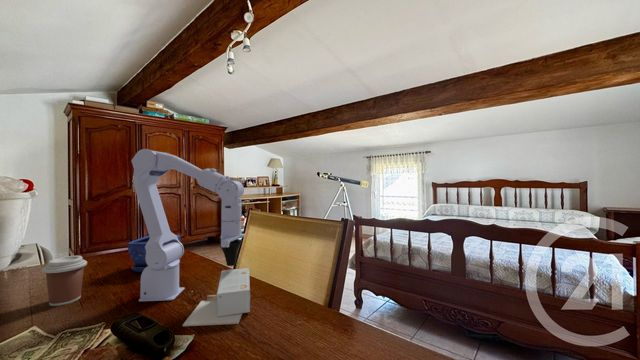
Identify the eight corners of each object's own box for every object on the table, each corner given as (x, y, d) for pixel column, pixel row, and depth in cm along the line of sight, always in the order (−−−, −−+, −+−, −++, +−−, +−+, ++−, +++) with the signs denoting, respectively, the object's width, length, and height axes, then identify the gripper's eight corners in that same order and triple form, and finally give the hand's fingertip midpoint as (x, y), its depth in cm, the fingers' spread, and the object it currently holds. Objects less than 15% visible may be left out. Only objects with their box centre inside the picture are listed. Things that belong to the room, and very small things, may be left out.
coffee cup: (34, 304, 70) (35, 261, 70) (76, 291, 79) (76, 253, 79) (52, 311, 67) (52, 266, 67) (93, 296, 75) (94, 256, 75)
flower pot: (161, 274, 93) (161, 242, 93) (125, 274, 93) (126, 242, 93) (181, 263, 106) (181, 234, 106) (150, 262, 106) (150, 234, 106)
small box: (221, 290, 76) (216, 317, 63) (221, 270, 75) (216, 293, 63) (249, 286, 78) (250, 312, 65) (249, 267, 77) (249, 289, 65)
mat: (182, 326, 60) (182, 324, 60) (201, 302, 72) (201, 300, 72) (238, 323, 61) (238, 322, 61) (247, 300, 73) (247, 298, 73)
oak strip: (207, 301, 72) (207, 296, 72) (208, 300, 73) (208, 295, 73) (249, 299, 73) (249, 294, 73) (250, 298, 74) (250, 293, 74)
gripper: (239, 224, 69) (239, 273, 69) (249, 216, 83) (249, 257, 83) (213, 224, 68) (212, 274, 68) (227, 216, 83) (227, 258, 83)
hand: (231, 265), depth 76 cm, fingers closed
